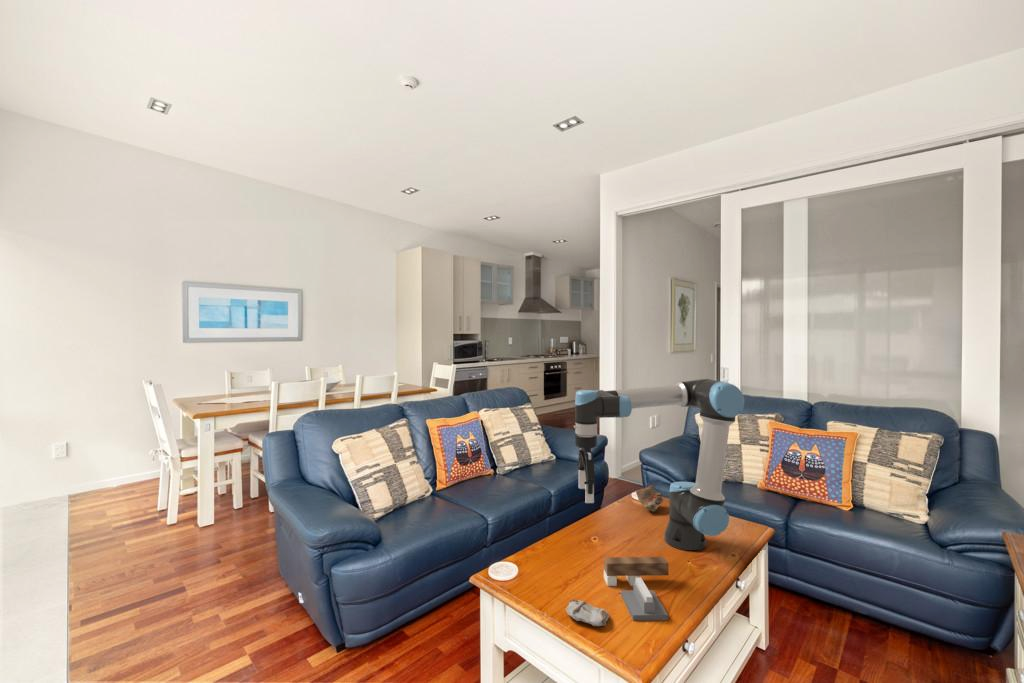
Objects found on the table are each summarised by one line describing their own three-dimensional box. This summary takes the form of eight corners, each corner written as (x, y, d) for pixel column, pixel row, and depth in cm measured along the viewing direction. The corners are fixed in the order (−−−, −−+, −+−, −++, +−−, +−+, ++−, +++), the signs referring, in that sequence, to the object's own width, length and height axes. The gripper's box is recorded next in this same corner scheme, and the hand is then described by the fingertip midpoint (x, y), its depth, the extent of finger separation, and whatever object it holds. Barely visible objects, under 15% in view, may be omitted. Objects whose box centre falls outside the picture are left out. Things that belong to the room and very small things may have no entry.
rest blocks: (634, 577, 146) (635, 568, 146) (639, 585, 141) (639, 576, 141) (603, 577, 145) (603, 568, 145) (607, 586, 140) (607, 576, 140)
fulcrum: (652, 594, 136) (653, 575, 136) (667, 620, 124) (668, 599, 124) (621, 595, 135) (621, 576, 135) (633, 620, 123) (633, 599, 123)
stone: (561, 620, 124) (561, 608, 124) (572, 603, 132) (572, 592, 132) (602, 634, 118) (602, 622, 118) (611, 615, 126) (612, 604, 126)
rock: (662, 506, 207) (662, 485, 206) (665, 517, 194) (665, 494, 194) (635, 504, 209) (635, 483, 209) (636, 514, 197) (636, 492, 197)
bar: (663, 568, 145) (663, 556, 145) (668, 575, 141) (668, 563, 141) (604, 569, 145) (604, 557, 145) (607, 575, 141) (607, 563, 141)
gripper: (570, 427, 165) (569, 483, 165) (581, 443, 140) (581, 509, 140) (589, 427, 165) (589, 483, 165) (604, 443, 140) (604, 509, 140)
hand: (585, 495), depth 153 cm, fingers open, 13 cm apart
